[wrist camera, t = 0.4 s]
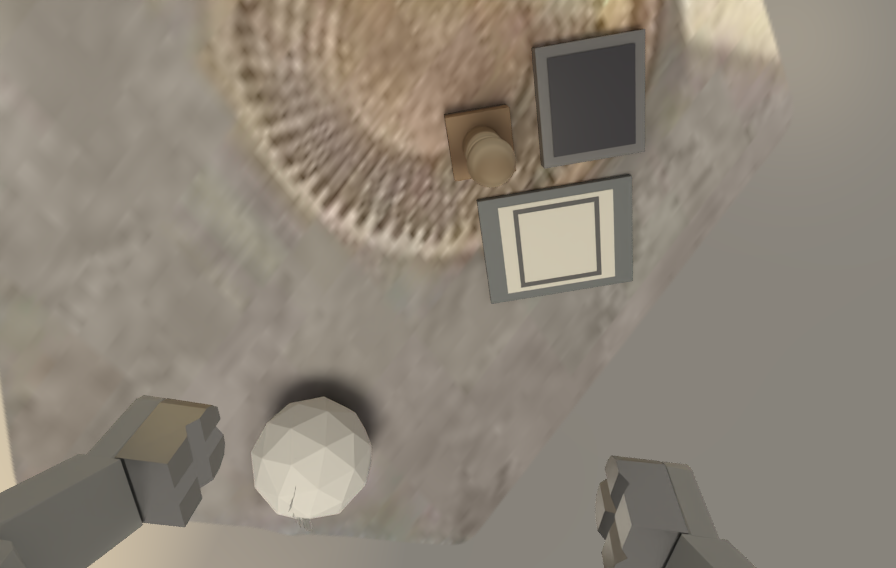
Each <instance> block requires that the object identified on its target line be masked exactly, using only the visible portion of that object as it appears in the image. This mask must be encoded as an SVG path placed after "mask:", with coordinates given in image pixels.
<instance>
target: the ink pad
mask: <svg viewBox="0 0 896 568" xmlns="http://www.w3.org/2000/svg"><path fill="white" fill-rule="evenodd" d="M532 60H533V72H534V84H535V96H536V109H537V121H538V133H539V145H540V157H541V165H542V166H543V167H544V169H545V168H550V167H556V166H562V165H568V164H574V163H580V162H586V161H592V160H598V159H604V158H610V157H616V156H622V155H627V154H633V153H639V152H645V29H640V30H633V31H628V32H622V33H616V34H610V35H605V36H599V37H593V38H588V39H582V40H576V41H570V42H565V43H559V44H553V45H548V46H542V47H536V48H532Z"/></svg>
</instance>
